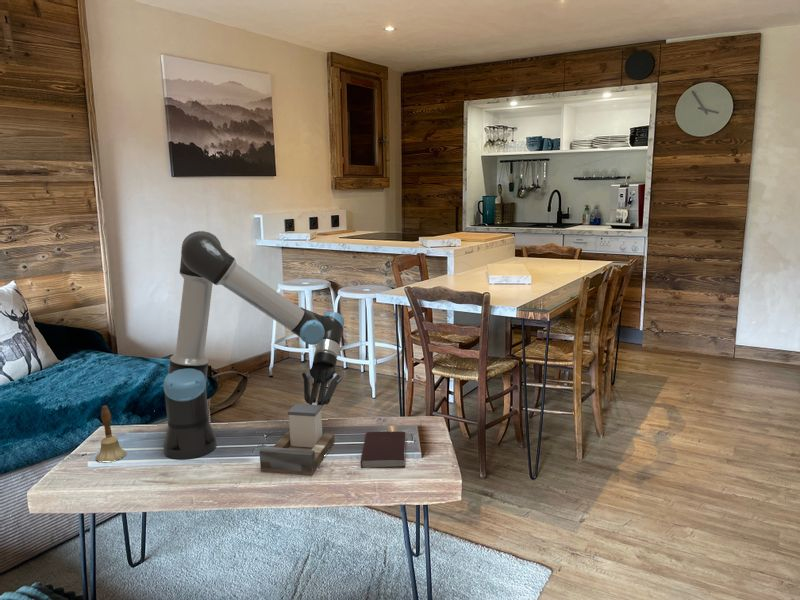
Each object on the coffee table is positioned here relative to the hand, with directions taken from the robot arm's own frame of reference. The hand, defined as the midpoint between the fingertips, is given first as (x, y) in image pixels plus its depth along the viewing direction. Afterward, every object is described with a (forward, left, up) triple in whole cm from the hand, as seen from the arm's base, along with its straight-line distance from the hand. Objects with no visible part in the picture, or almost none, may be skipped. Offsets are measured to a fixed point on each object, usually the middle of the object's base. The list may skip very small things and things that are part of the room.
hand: (311, 424), depth 190 cm
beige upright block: (+3, -3, -4) cm, 6 cm away
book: (+18, +17, -6) cm, 25 cm away
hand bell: (-17, -57, -6) cm, 59 cm away
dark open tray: (+9, -7, -5) cm, 12 cm away
